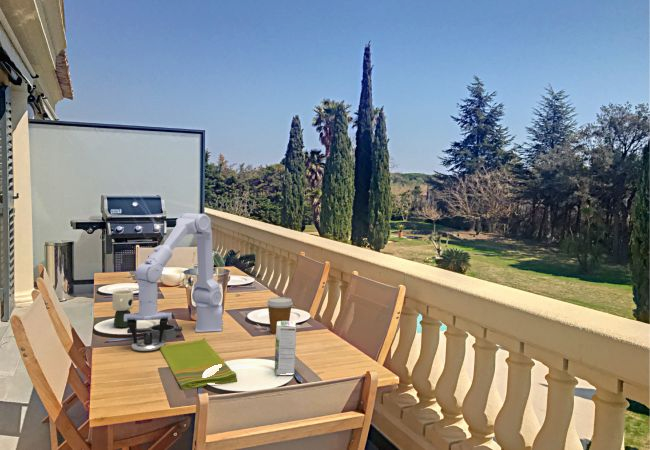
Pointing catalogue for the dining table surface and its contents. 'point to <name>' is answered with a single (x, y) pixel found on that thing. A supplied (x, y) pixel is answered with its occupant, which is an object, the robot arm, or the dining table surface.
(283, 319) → the disposable coffee cup
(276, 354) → the syrup box
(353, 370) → the dining table surface
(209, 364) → the dish towel
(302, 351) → the dining table surface
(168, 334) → the cooker base
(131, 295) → the character mug
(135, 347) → the lid
